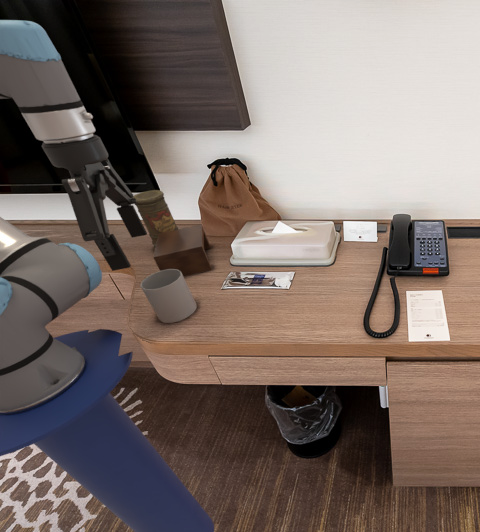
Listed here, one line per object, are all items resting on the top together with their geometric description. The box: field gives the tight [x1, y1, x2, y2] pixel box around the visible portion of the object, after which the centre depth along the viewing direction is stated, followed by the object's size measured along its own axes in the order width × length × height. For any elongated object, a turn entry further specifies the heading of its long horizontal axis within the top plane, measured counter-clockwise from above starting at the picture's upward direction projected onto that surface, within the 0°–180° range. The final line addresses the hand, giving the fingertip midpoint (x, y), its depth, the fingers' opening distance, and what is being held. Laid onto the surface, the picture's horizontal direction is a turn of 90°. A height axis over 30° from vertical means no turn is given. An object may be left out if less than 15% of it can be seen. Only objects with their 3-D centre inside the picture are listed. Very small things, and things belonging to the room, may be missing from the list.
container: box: [133, 189, 179, 250], centre depth 109 cm, size 9×9×18 cm
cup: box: [140, 269, 197, 324], centre depth 83 cm, size 8×8×10 cm
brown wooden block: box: [152, 224, 212, 278], centre depth 103 cm, size 12×16×8 cm
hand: (131, 250), depth 67 cm, fingers open, 13 cm apart
